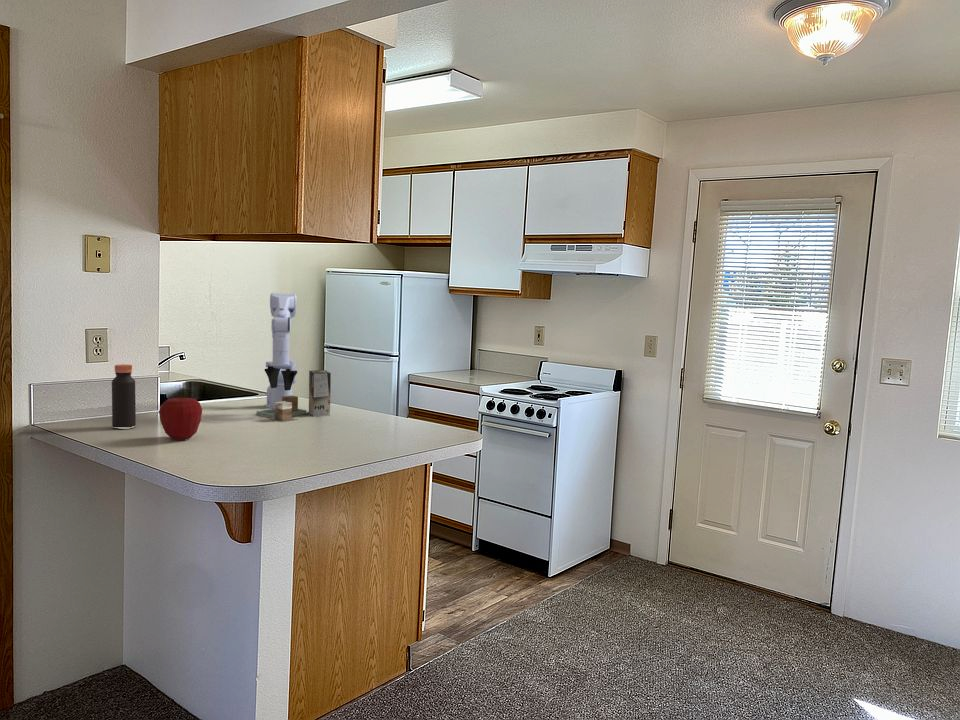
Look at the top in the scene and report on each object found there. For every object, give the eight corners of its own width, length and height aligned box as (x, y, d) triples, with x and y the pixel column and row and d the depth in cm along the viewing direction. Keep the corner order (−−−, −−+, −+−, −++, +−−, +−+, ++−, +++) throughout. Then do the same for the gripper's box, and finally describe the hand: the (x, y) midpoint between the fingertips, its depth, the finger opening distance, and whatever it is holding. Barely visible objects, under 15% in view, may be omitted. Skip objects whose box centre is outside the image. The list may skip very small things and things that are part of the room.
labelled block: (274, 419, 254) (275, 402, 253) (284, 418, 257) (284, 401, 256) (282, 421, 251) (282, 403, 251) (291, 419, 255) (291, 402, 254)
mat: (269, 420, 254) (269, 419, 254) (285, 418, 259) (285, 416, 259) (282, 423, 250) (282, 422, 250) (298, 420, 255) (298, 419, 255)
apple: (203, 434, 227) (203, 391, 226) (201, 442, 216) (201, 397, 215) (161, 435, 224) (160, 392, 222) (157, 443, 213) (156, 398, 211)
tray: (256, 415, 262) (256, 411, 262) (288, 411, 273) (288, 406, 273) (274, 419, 256) (274, 414, 256) (306, 414, 268) (306, 410, 267)
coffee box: (330, 416, 265) (331, 372, 263) (313, 417, 262) (313, 373, 261) (325, 412, 273) (325, 369, 272) (307, 413, 271) (308, 370, 269)
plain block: (281, 412, 267) (282, 396, 267) (290, 411, 271) (290, 395, 270) (289, 414, 265) (289, 397, 264) (297, 412, 268) (297, 396, 268)
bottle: (110, 429, 229) (109, 366, 227) (114, 425, 236) (113, 364, 234) (134, 429, 231) (133, 366, 229) (137, 425, 238) (136, 364, 236)
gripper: (258, 350, 261) (258, 387, 262) (285, 353, 252) (284, 392, 254) (274, 349, 267) (274, 386, 268) (301, 352, 258) (300, 390, 259)
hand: (280, 389), depth 261 cm, fingers open, 7 cm apart
